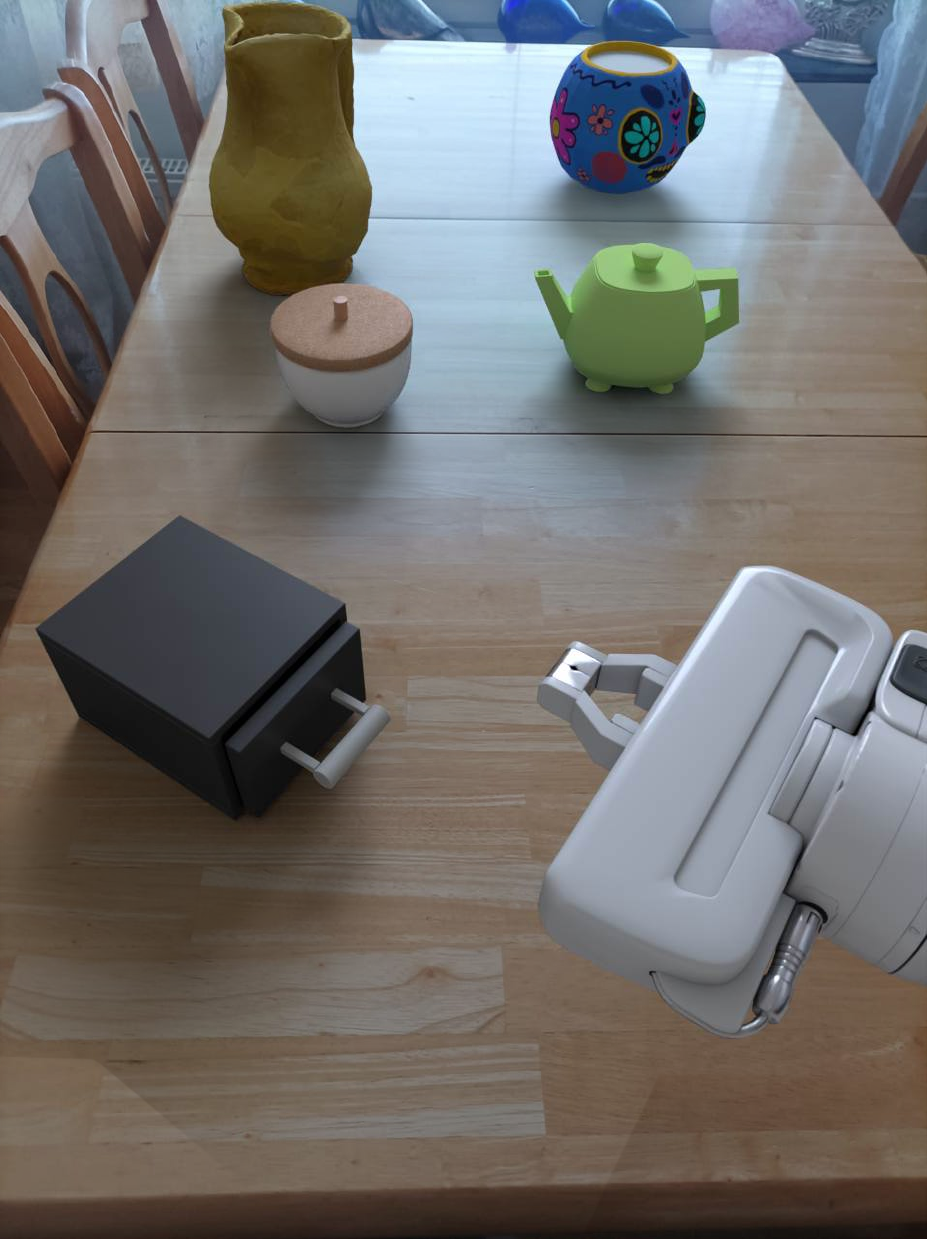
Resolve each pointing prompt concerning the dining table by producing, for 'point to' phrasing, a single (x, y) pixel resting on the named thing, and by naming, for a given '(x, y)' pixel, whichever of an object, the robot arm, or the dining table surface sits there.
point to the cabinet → (184, 649)
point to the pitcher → (290, 147)
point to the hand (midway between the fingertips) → (553, 671)
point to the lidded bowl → (343, 351)
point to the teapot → (639, 315)
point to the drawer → (304, 722)
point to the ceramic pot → (624, 116)
